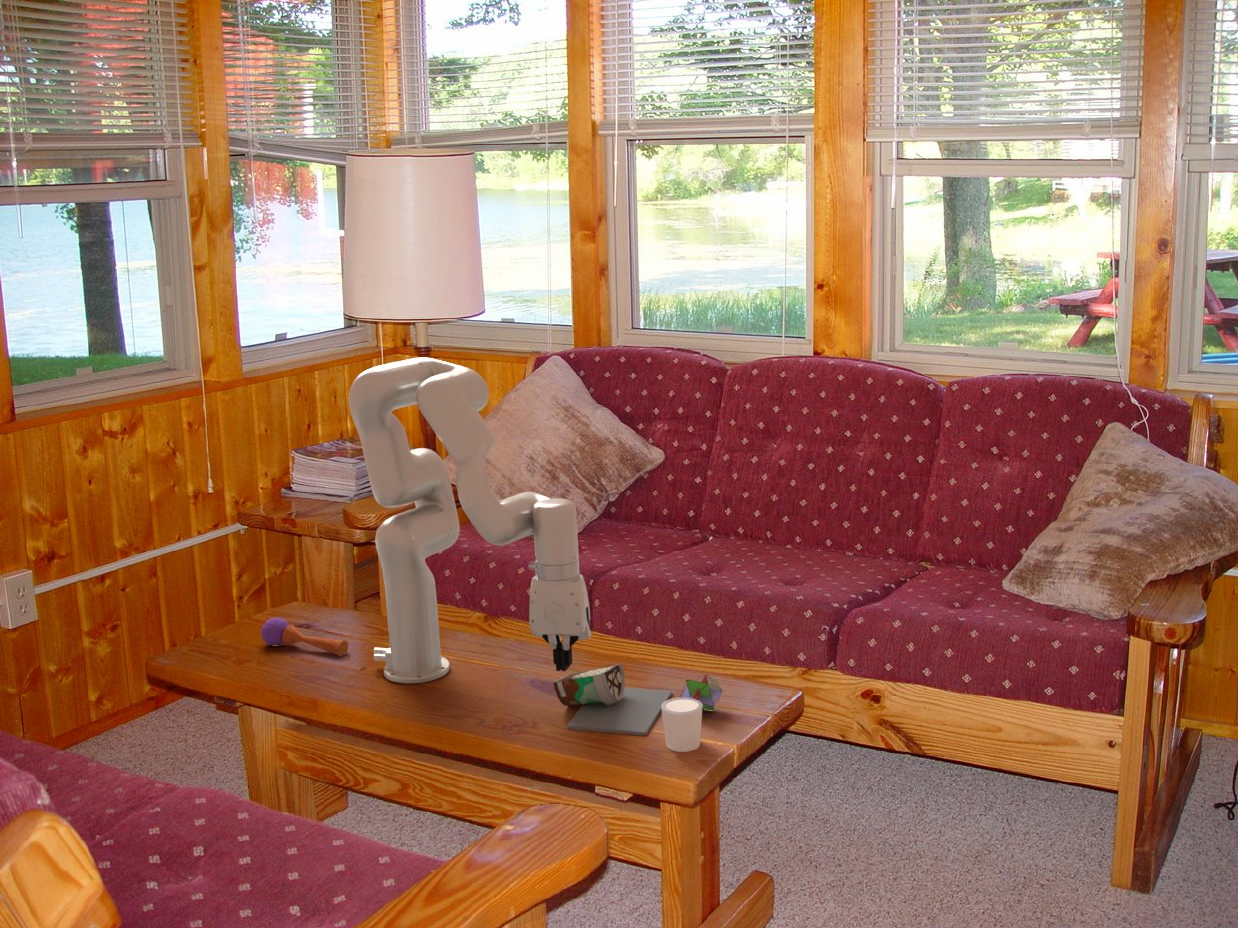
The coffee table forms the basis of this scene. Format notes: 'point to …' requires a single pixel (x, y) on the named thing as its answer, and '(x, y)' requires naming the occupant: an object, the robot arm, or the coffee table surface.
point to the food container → (592, 686)
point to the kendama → (298, 637)
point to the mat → (622, 713)
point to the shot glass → (682, 723)
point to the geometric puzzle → (703, 692)
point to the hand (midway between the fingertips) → (563, 668)
